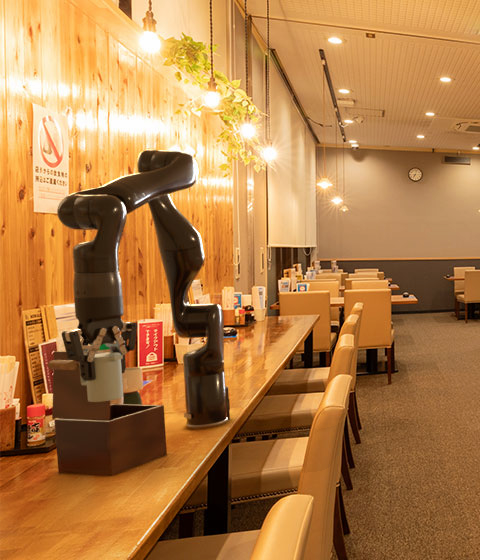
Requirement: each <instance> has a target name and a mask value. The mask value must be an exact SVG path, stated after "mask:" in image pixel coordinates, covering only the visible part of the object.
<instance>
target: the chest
mask: <svg viewBox="0 0 480 560" xmlns="http://www.w3.org/2000/svg"><path fill="white" fill-rule="evenodd" d="M165 418H166V417H165V405H163V404H161V405H160V404H142V405H136V404H111V405H110V419H109V420H93V419H65V418H55V419H54V431H55V433H54V434H55V444H56V445H55V446H56V458H57V459H56V460H57V472H58V474H75V475H77V474H78V475H94V476H95V475H96V476H115V475H117V474H120V473H122V472H125V471H127V470H130V469H133V468H136V467H138V466H140V465H143V464H145V463H148V462H150V461H153V460H156V459H160V458H161V457H163V456H166V455H168V452H167V437H166V436H167V435H166V420H165Z"/></svg>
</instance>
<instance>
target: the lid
mask: <svg viewBox="0 0 480 560" xmlns="http://www.w3.org/2000/svg"><path fill="white" fill-rule="evenodd" d="M87 353H88V352H87ZM99 353H111V352H96V354H99ZM47 366H48V369H49V370H52V412H51V413H52V415H51V416H52V417H51V418H52V419H59V418H65V419H93V420H109V419H110V401H102V402H89V401H88V395H87V386H83V385H81V378H80V365H79V362H78V361H74V360H68V357H67V353H66V350H65V351H64V350H63V351H62V350H57V351H56V350H55V351H53V359H51V360H49V362H48V363H47Z"/></svg>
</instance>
